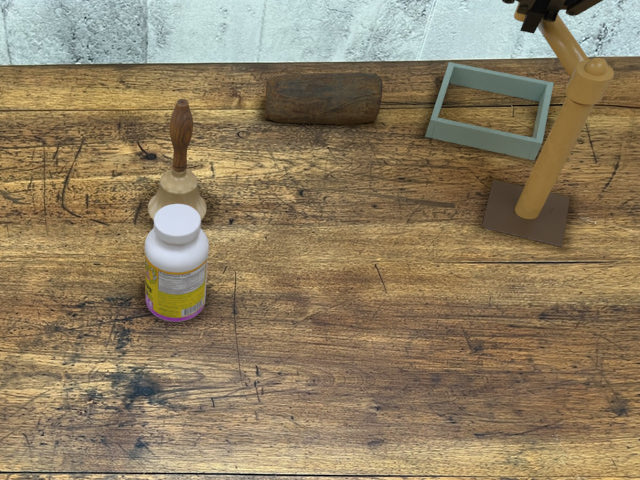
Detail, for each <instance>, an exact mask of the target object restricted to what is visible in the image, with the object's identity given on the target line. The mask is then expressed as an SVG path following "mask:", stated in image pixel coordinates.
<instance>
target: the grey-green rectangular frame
mask: <svg viewBox="0 0 640 480" xmlns="http://www.w3.org/2000/svg"><path fill="white" fill-rule="evenodd" d="M449 85H455V86H459V87H465V88H469V89H474V90H479V91H484V92H489V93H495V94H499V95H505V96H510V97H514V98H519V99H523V100H528V101H529V100H530V101H534V102H538V107H537V112H536V117H535V120H534V121H535V122H534V127H533V130H532V136H527V135H522V134H517V133H513V132H507V131H503V130H499V129H493V128H488V127H484V126H480V125H475V124H470V123H466V122H462V121H455V120H451V119H446V118H443V117H439V115H440V113H441V110H442V106H443V102H444V99H445V96H446V93H447V91H448V87H449ZM554 85H555V82H552V81H547V80H543V79H538V78H532V77H527V76H521V75H516V74H512V73H508V72H501V71H496V70H492V69H487V68H482V67H476V66H470V65H466V64H461V63H456V62H452V61H449V62H448V64H447V67H446V70H445V73H444V76H443V79H442V83H441V86H440V88H439V92H438V95H437V98H436V101H435V104H434V107H433V110H432V114H431V116H430V120H429V123H428V126H427V129H426V131H425V135H424V138H429V139H433V140H439V141H443V142H448V143H453V144H457V145H461V146H465V147H471V148H475V149H479V150H484V151H489V152H494V153H498V154H502V155H507V156H512V157H514V158H515V157H516V158H521V159H525V160H530V161H536V158H537V156H538V154H539V153H540V151H541V150H540V149H541V148H542V145H543V141H544V136H545V132H546V127H547V126H546V125H547V121H548V116H549V109H550V104H551V100H552V94H553V89H554Z"/></svg>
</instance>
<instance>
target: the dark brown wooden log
mask: <svg viewBox="0 0 640 480" xmlns="http://www.w3.org/2000/svg"><path fill="white" fill-rule="evenodd" d="M383 83H384V82H383V81H382V78H381V76H380V75H378V74H376V73H368V72H311V73H291V74H282V75H277V76H276V75H275V76H273V77H269V78H268V79H267V80H266V82H265V110H264V115H263V116H264V119H265V120H269V121H273V122H275V123H281V124H282V123H283V124H284V123H285V124H307V125H308V124H309V125H310V124H311V125H318V124H319V125H323V124H324V125H351V124H352V125H353V124H364V123H365V124H366V123H371V122H374V121H375V120H376V119H377V117H378V115H379V113H380V109H381V105H382V99H383V91H384V87H383V86H384V85H383Z"/></svg>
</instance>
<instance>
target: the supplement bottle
mask: <svg viewBox="0 0 640 480" xmlns="http://www.w3.org/2000/svg"><path fill="white" fill-rule="evenodd" d="M209 251H210V242H209V238H208V236H207V234H206V233H205V231H204V230H203V229H202V219H201V218H200V215H199V213H198V212H197V211H196V210H195V209H194V208H192V207H190V206H188V205H184V204H171V205H167V206H165V207H163V208H161V209H160V210H159V211H158V212H157V213H156V214H155V217H154V220H153V228H152V229H151V230H150V231H149V233H148V234H147V236H146V238H145V241H144V287H145V288H144V291H145V292H144V293H145V294H144V295H145V304H146V306H147V309H148V310H149V311H150V312H151V313H152V315H154V316H155V317H156V318H158V319H161V320H164V321H167V322H174V323H177V322H178V323H179V322H185V321H189V320H190V319H193V318H195V317H196V316H197V315H199V314H200V313H201V312H202V311H203V309H204V307H205V304H206V297H207V296H206V295H207V294H206V293H207V282H208V281H207V279H208V266H209V265H208V264H209Z"/></svg>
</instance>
